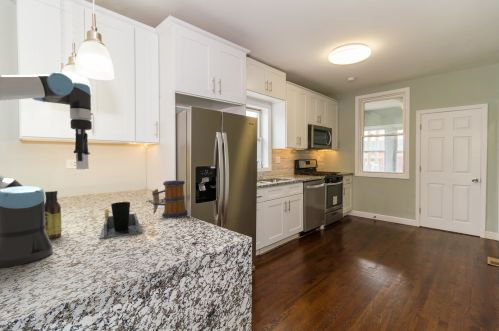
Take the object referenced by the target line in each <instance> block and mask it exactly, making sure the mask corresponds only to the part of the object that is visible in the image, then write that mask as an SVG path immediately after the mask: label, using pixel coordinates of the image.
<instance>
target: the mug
mask: <svg viewBox="0 0 499 331" xmlns="http://www.w3.org/2000/svg"><path fill="white" fill-rule="evenodd" d="M185 183H186V182H185V180H182V179H181V180H179V179H178V180H175V179H174V180H165V181H164V182H163V183H162V185H163V186H164V189H162V190H161V191H159V190H158V188H155V189H154V190H152V192H151V193H152V194H151V195H152V199H153V203H152V205H153V215H154V214H156V212H157V210H158V207H159V206H164V210H163V213H162V216H161V217H162V218H163V217H164V218H163V219H169V218H172V219H180V218H179V217H181V218H185V217H187V216H189V214H188V210H187V209H186V203H185V192H184V185H185ZM163 193H164V203H161V202H160V194H163ZM159 202H160V203H159ZM185 215H186V216H185ZM184 216H185V217H184Z"/></svg>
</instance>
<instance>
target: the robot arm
mask: <svg viewBox="0 0 499 331" xmlns="http://www.w3.org/2000/svg"><path fill="white" fill-rule="evenodd" d="M27 99H32V100H34V101H37V102H43V103H51V104H59V105H60V104H61V105H66V106H67V105H68V106H69V118H70V124H69V125H70V128H71V129H72V130H75V134H74V135H75V143H74V144H75V146H74V147H75V148H74V150H73V154H75V164H76V166H75V167H76V170H87V169H89V155H91V152H89V147H88V144H89V143H88V136H89V135H88V133H87V132H86V131H90V130H92V129H93V124H92V116H93V115H94V113H93V112H92V94H91V88H90V86H89V85H88V84H86V83H84V82H76V81H75V82H73V80H72V79H71V77H70V76H69V75H67V74H65V73H63V72H61V71H60V72H58V71H56V72H55V71H54V72H53V73H52V72H51V73H50V74H38V75H37V74H34V75H33V74H30V75H27V74H25V75H24V74H23V75H22V74H21V75H20V74H19V75H18V74H16V75H15V74H14V75H13V74H11V75H10V74H9V75H7V74H5V75H4V74H3V75H0V101H7V100H8V101H10V100H27ZM45 200H46V195H45V191H44V189H43V188H41V187H39V186H32V185H23V184H21V183H20V182H19V181H18V180H17V179H15V178H6V177H5V176H3V174H1V173H0V268H7V267H8V268H9V267H14V266H20V265H24V264H29V263H32V262H36V261H39V260H41V259H44V258H47V257H49V256H50V255H51V254H53V252H54V250H53V247H54V246H53V243H52V241H51V240H50V239H51V238H50V239H49V237H48V235H47V233H46V231H45V207H44V204H45Z"/></svg>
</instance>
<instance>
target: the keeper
mask: <svg viewBox="0 0 499 331" xmlns="http://www.w3.org/2000/svg"><path fill="white" fill-rule="evenodd" d="M109 211H110V210H109V209H107V208H106V209H104V222H103V227H102V228H101V232H100V236H99V240H105V239H110V238H117V237H124V236H129V235H130V236H131V235H137V234H143V229H142V226H141V222H139V218H138V216H137V213H134V212H133V213H129V226H128V229H127V230H124V231H115V230H114V222H113V215H109V214H110V212H109ZM104 238H105V239H104Z"/></svg>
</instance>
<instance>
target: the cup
mask: <svg viewBox="0 0 499 331" xmlns="http://www.w3.org/2000/svg"><path fill="white" fill-rule="evenodd" d="M110 206H111V214H112V215H111V216H113V222H114V230H115V231H124V230H127V229H128V226H129V214H130V211H131V210H130V209H131V202H130V201H119V202H113V203H111V204H110Z"/></svg>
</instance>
